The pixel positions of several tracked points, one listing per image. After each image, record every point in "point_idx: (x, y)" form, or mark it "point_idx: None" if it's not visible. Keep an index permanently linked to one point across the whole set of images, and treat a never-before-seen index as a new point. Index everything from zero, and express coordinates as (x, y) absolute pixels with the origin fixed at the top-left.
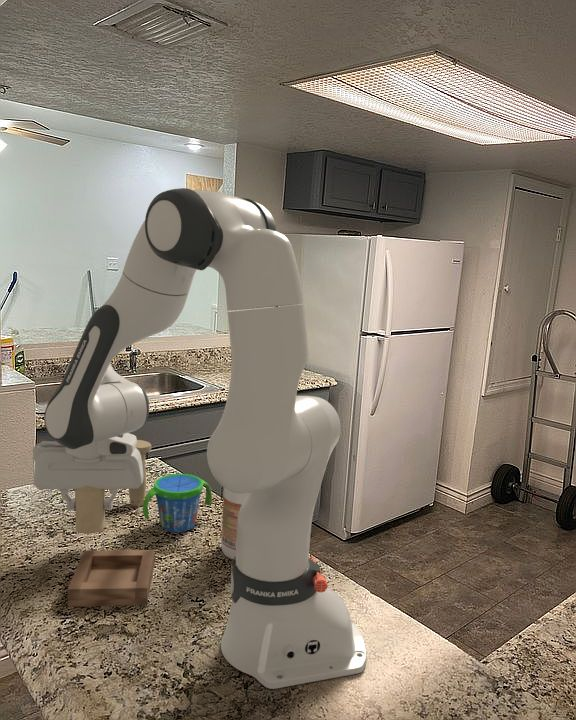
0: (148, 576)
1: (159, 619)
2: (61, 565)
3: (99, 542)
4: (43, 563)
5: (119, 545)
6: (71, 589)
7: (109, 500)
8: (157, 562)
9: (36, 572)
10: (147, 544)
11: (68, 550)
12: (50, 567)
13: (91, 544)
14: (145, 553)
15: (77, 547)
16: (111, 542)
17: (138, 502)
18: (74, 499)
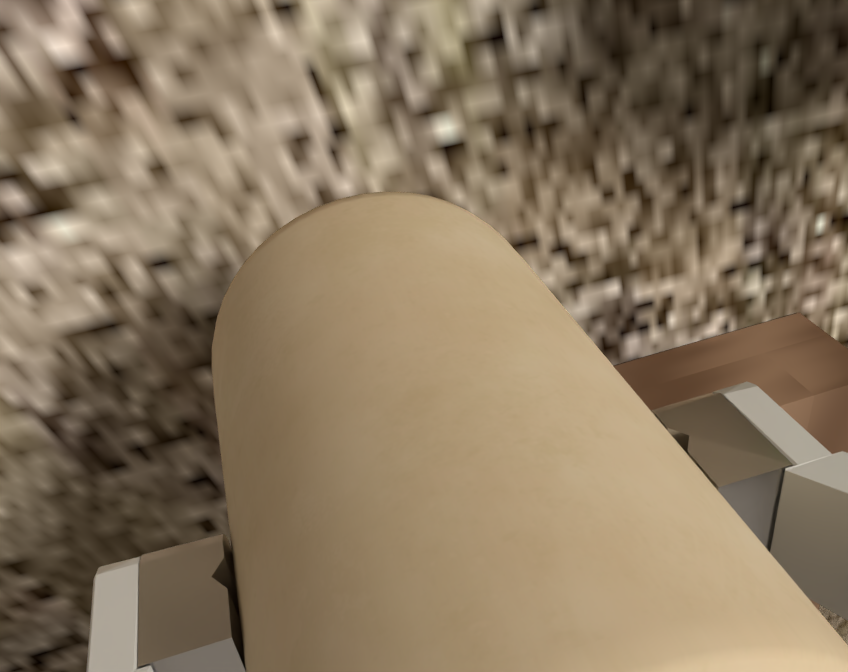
0: (815, 604)
1: None
2: (200, 471)
3: (350, 71)
4: (44, 489)
5: (546, 93)
6: None
7: (797, 580)
8: (819, 273)
9: (75, 581)
10: (771, 29)
11: (126, 276)
12: (134, 512)
13: (288, 126)
14: (820, 427)
15: (181, 208)
16: (464, 49)
17: None
18: (211, 669)
